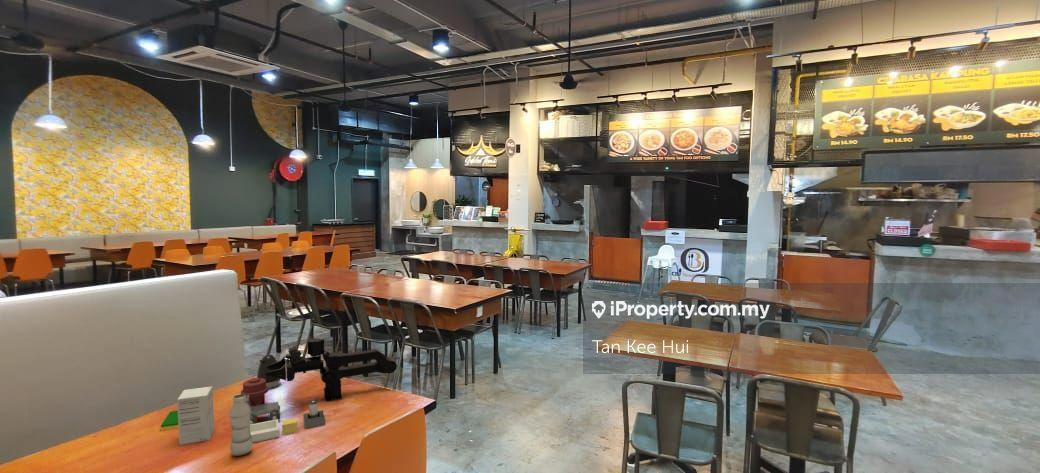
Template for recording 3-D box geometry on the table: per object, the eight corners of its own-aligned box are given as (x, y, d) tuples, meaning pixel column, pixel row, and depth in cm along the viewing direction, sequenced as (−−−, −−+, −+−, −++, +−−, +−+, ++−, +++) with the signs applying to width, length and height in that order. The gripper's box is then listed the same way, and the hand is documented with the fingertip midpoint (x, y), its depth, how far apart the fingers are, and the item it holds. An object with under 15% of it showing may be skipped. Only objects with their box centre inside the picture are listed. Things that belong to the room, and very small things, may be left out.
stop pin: (317, 420, 184) (317, 398, 183) (318, 423, 181) (317, 401, 181) (309, 422, 182) (308, 399, 182) (310, 425, 180) (309, 402, 179)
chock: (297, 428, 178) (296, 417, 178) (297, 432, 175) (297, 422, 174) (282, 431, 176) (281, 420, 175) (282, 435, 172) (282, 425, 172)
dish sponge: (160, 432, 176) (160, 425, 176) (170, 416, 189) (170, 411, 189) (183, 428, 179) (183, 422, 179) (191, 413, 192) (191, 408, 191)
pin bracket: (322, 417, 186) (322, 410, 186) (324, 424, 180) (324, 417, 180) (303, 421, 183) (303, 414, 183) (304, 428, 177) (304, 421, 177)
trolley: (280, 411, 192) (279, 388, 191) (280, 422, 183) (279, 397, 182) (246, 418, 186) (245, 393, 186) (244, 429, 177) (243, 403, 176)
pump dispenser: (251, 390, 215) (250, 357, 214) (267, 381, 225) (266, 350, 224) (271, 391, 213) (270, 358, 212) (286, 383, 223) (285, 351, 222)
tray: (278, 426, 179) (278, 419, 179) (278, 437, 171) (278, 429, 170) (243, 433, 174) (243, 425, 173) (242, 445, 165) (241, 436, 165)
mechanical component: (252, 402, 201) (274, 403, 200) (235, 413, 191) (258, 413, 190) (251, 374, 200) (273, 375, 199) (234, 383, 190) (257, 384, 189)
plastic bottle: (236, 448, 163) (233, 392, 161) (256, 447, 163) (254, 391, 162) (226, 458, 156) (223, 400, 155) (247, 457, 157) (245, 399, 156)
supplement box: (185, 433, 174) (183, 389, 173) (215, 428, 177) (212, 385, 176) (178, 445, 165) (176, 399, 164) (209, 440, 169) (207, 394, 168)
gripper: (305, 340, 208) (265, 345, 201) (308, 351, 192) (265, 357, 184) (306, 364, 209) (266, 370, 202) (309, 378, 192) (266, 385, 185)
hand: (266, 370), depth 193 cm, fingers open, 9 cm apart
